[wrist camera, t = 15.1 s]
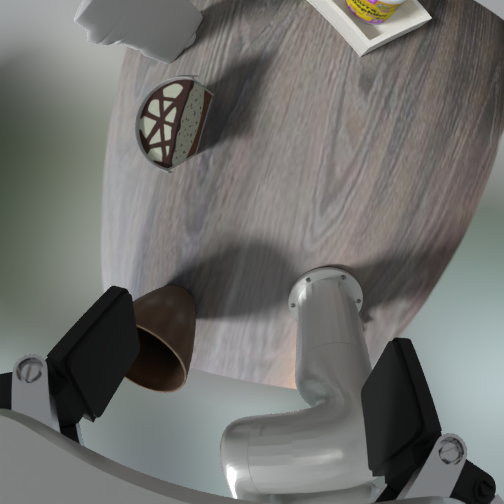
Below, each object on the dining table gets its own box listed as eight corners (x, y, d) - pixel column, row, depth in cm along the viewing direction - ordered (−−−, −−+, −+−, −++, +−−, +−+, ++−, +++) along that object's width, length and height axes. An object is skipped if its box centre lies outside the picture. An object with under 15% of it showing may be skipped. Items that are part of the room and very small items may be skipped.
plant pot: (156, 331, 55) (122, 386, 40) (131, 268, 49) (82, 318, 35) (222, 331, 52) (199, 397, 37) (202, 262, 46) (164, 322, 32)
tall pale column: (175, 71, 33) (74, 38, 14) (155, 62, 33) (51, 32, 13) (213, 15, 29) (143, -58, 9) (191, 7, 28) (113, -58, 8)
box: (418, 27, 24) (432, 18, 20) (360, 57, 29) (368, 47, 24) (364, -31, 21) (370, -45, 17) (302, -4, 26) (303, -19, 21)
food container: (178, 77, 34) (145, 66, 25) (216, 84, 34) (192, 72, 25) (158, 154, 39) (122, 164, 30) (194, 164, 39) (164, 175, 30)
